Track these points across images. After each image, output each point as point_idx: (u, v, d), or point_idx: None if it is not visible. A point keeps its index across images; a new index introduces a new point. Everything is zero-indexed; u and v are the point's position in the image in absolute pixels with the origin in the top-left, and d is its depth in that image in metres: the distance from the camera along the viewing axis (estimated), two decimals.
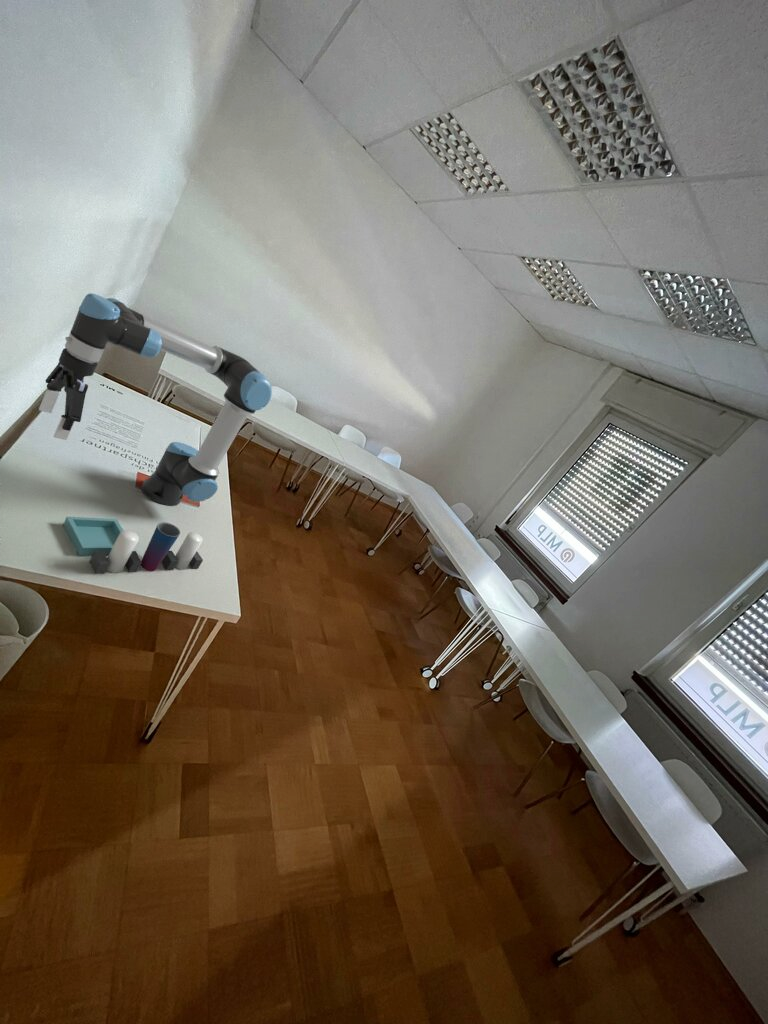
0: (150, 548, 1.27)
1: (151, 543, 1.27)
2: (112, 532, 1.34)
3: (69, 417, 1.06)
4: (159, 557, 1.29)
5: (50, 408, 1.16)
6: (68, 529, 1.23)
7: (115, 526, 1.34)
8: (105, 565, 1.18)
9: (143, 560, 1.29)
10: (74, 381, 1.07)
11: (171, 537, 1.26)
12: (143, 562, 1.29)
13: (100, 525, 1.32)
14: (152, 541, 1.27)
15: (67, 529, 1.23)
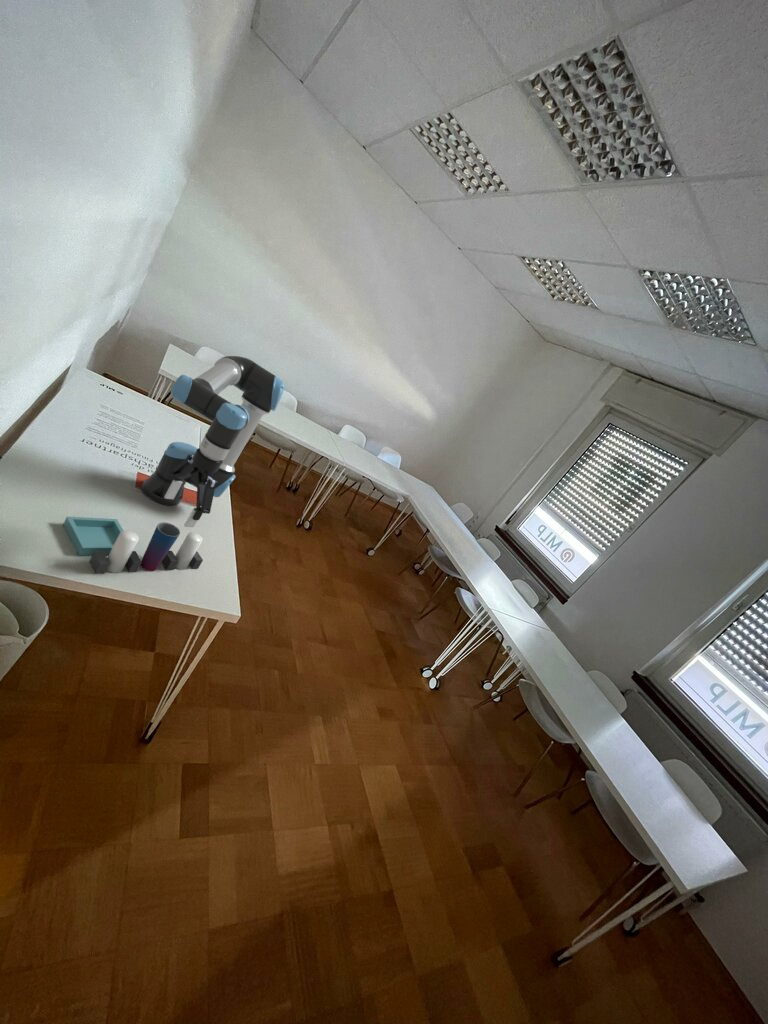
0: (150, 548, 1.27)
1: (151, 543, 1.27)
2: (112, 532, 1.34)
3: (202, 511, 1.19)
4: (159, 557, 1.29)
5: (173, 495, 1.29)
6: (68, 529, 1.23)
7: (115, 526, 1.34)
8: (105, 565, 1.18)
9: (143, 560, 1.29)
10: (205, 478, 1.19)
11: (171, 537, 1.26)
12: (143, 562, 1.29)
13: (100, 525, 1.32)
14: (152, 541, 1.27)
15: (67, 529, 1.23)
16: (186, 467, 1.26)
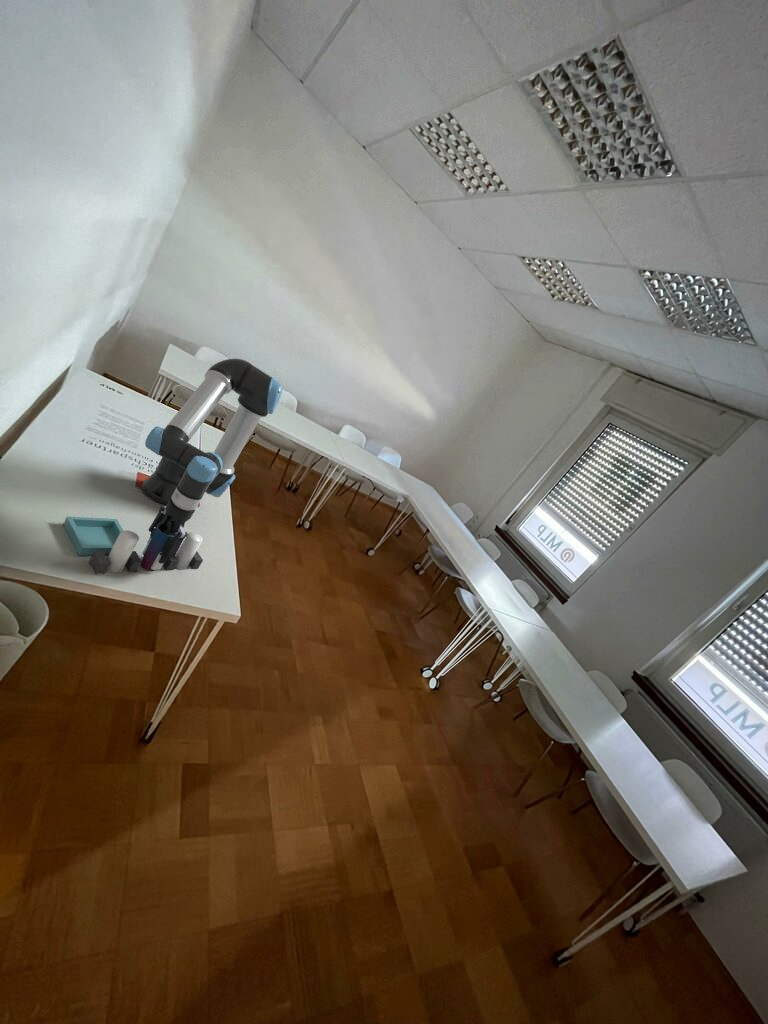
0: (150, 548, 1.27)
1: (151, 543, 1.27)
2: (112, 532, 1.34)
3: (166, 556, 1.26)
4: None
5: None
6: (68, 529, 1.23)
7: (115, 526, 1.34)
8: (105, 565, 1.18)
9: (143, 560, 1.29)
10: (177, 528, 1.25)
11: (171, 537, 1.26)
12: (143, 562, 1.29)
13: (100, 525, 1.32)
14: (152, 541, 1.27)
15: (67, 529, 1.23)
16: (161, 520, 1.31)
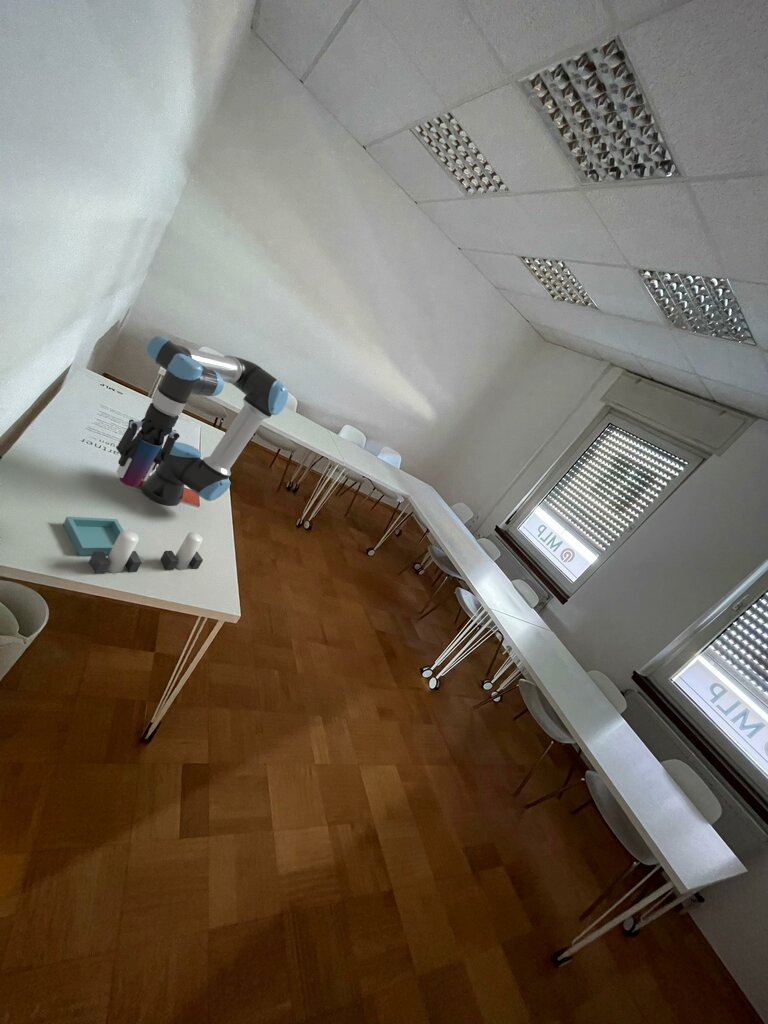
0: None
1: None
2: (112, 532, 1.34)
3: None
4: None
5: (145, 475, 1.23)
6: (68, 529, 1.23)
7: (115, 526, 1.34)
8: (105, 565, 1.18)
9: None
10: None
11: (137, 436, 1.15)
12: None
13: (100, 525, 1.32)
14: None
15: (67, 529, 1.23)
16: (167, 444, 1.22)
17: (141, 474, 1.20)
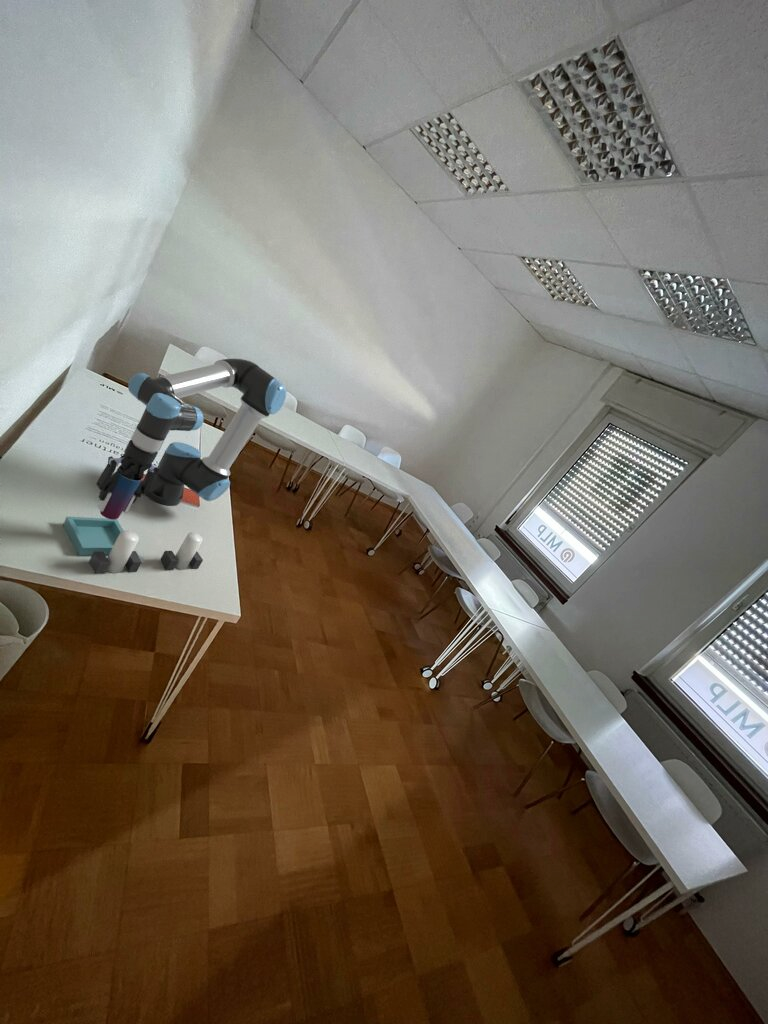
0: None
1: None
2: (112, 532, 1.34)
3: None
4: None
5: (125, 507, 1.26)
6: (68, 529, 1.23)
7: (115, 526, 1.34)
8: (105, 565, 1.18)
9: None
10: None
11: (116, 472, 1.18)
12: None
13: (100, 525, 1.32)
14: None
15: (67, 529, 1.23)
16: (147, 478, 1.25)
17: (121, 507, 1.23)
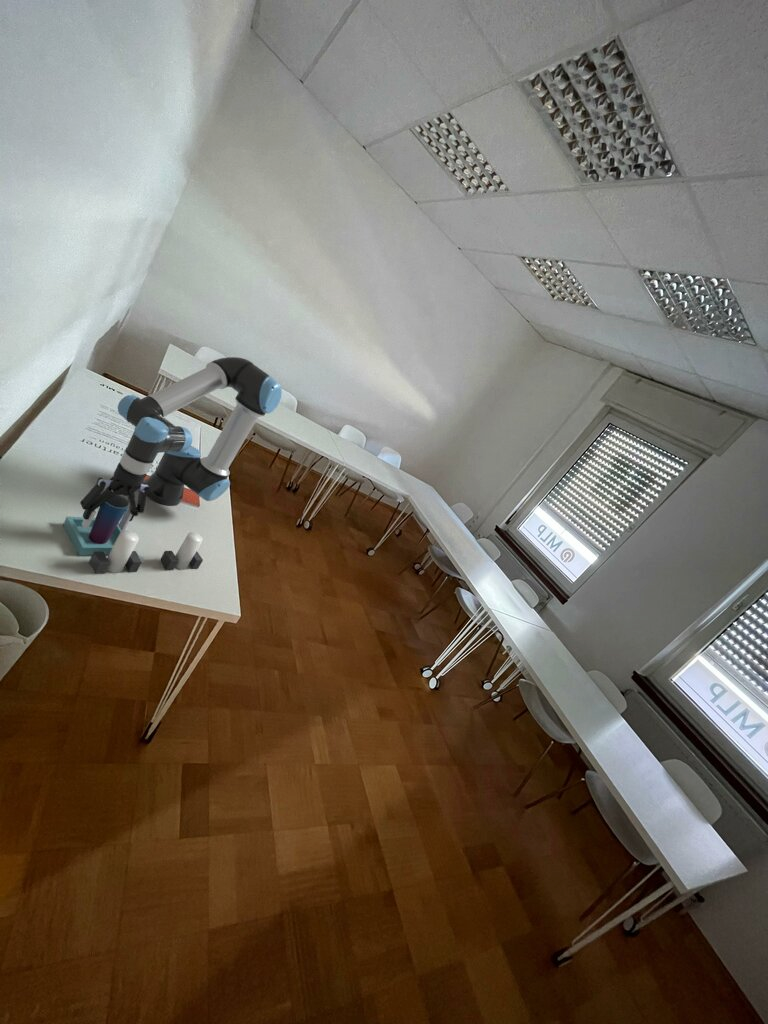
0: None
1: None
2: None
3: None
4: (94, 522, 1.24)
5: (122, 525, 1.30)
6: (68, 529, 1.23)
7: None
8: (105, 565, 1.18)
9: None
10: None
11: None
12: None
13: None
14: None
15: (67, 529, 1.23)
16: (140, 497, 1.28)
17: (109, 533, 1.26)
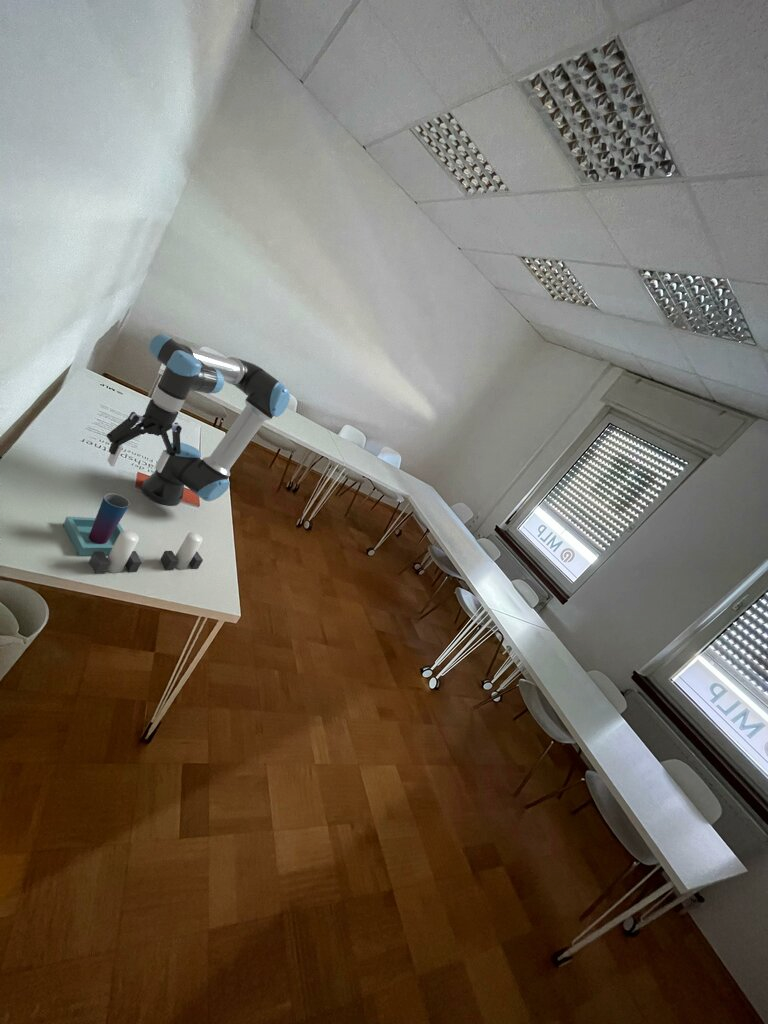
0: None
1: None
2: None
3: None
4: (94, 522, 1.24)
5: (159, 467, 1.27)
6: (68, 529, 1.23)
7: None
8: (105, 565, 1.18)
9: None
10: None
11: (103, 499, 1.21)
12: None
13: None
14: None
15: (67, 529, 1.23)
16: (174, 438, 1.25)
17: (109, 532, 1.26)
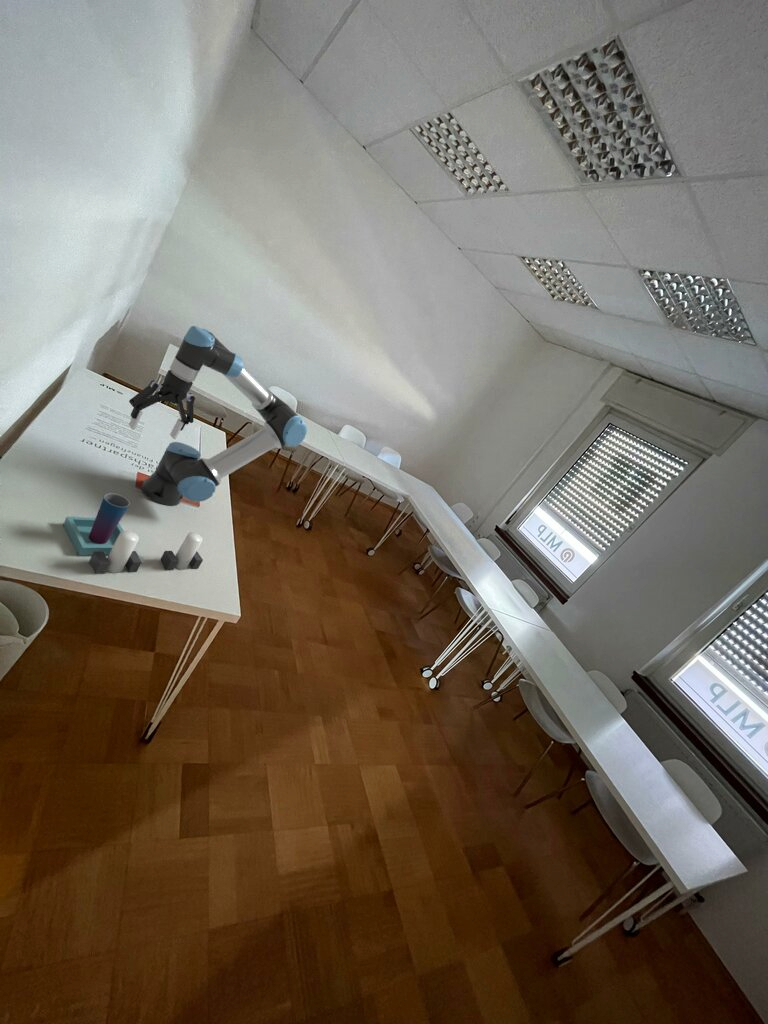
0: None
1: None
2: None
3: None
4: (94, 522, 1.24)
5: (174, 434, 1.41)
6: (68, 529, 1.23)
7: None
8: (105, 565, 1.18)
9: None
10: None
11: (103, 498, 1.21)
12: None
13: None
14: None
15: (67, 529, 1.23)
16: (188, 407, 1.39)
17: (109, 532, 1.26)
